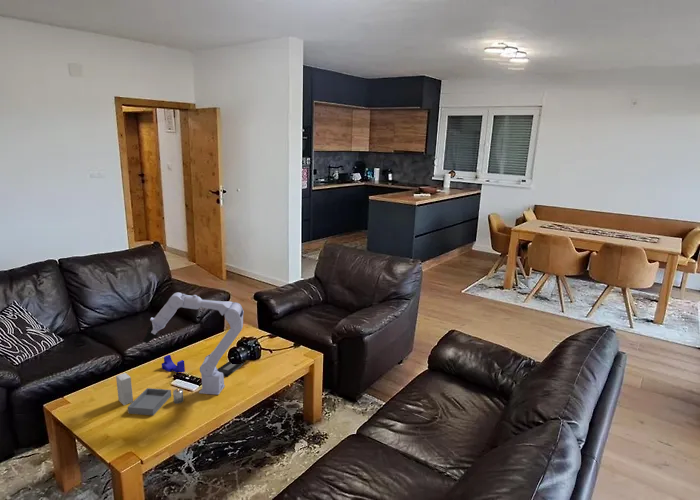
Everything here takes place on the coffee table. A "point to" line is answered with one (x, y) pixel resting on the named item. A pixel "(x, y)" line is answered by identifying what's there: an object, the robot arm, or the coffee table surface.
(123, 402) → the skincare box
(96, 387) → the coffee table surface
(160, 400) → the grey tray
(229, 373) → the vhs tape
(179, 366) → the cable clip
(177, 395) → the cell
